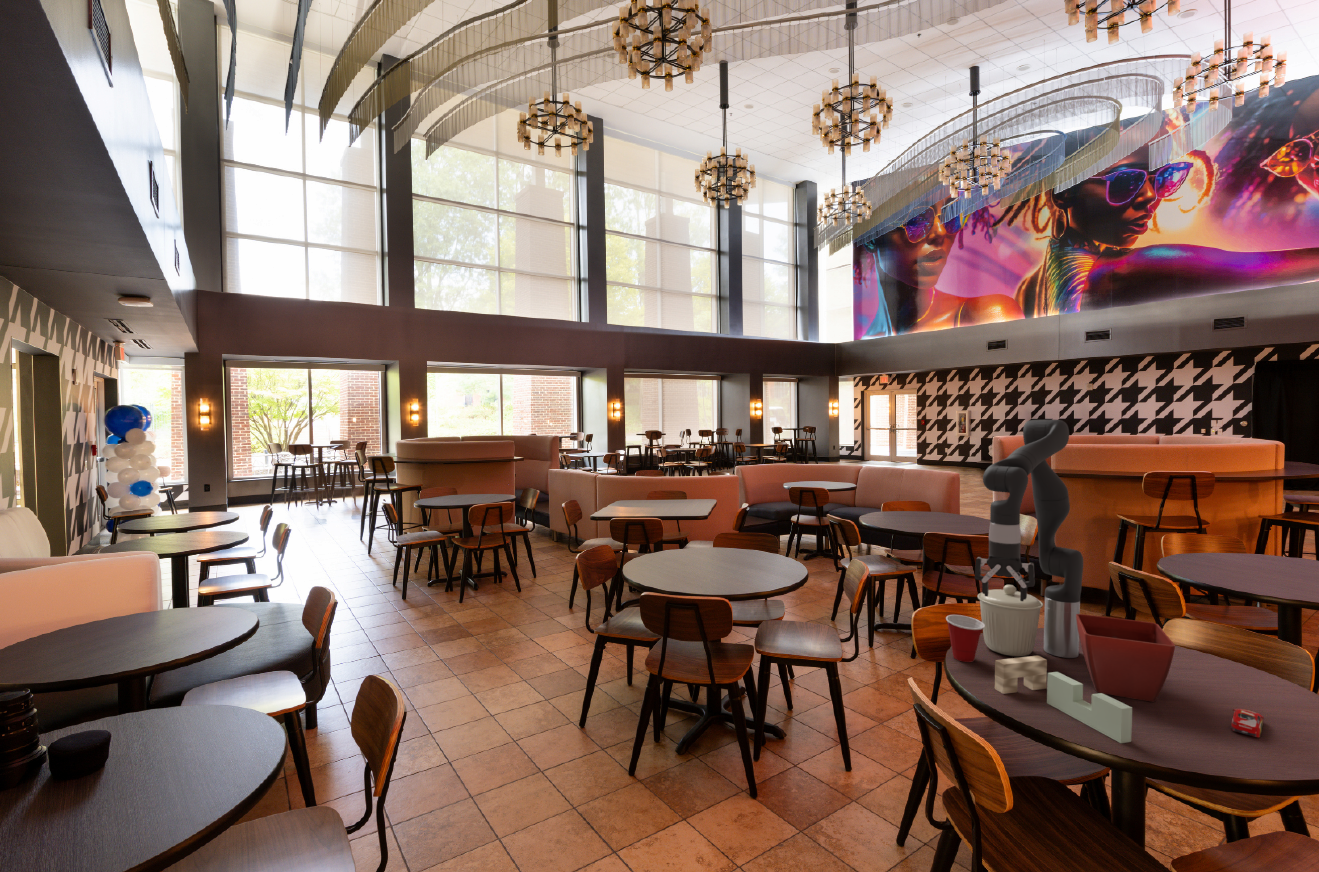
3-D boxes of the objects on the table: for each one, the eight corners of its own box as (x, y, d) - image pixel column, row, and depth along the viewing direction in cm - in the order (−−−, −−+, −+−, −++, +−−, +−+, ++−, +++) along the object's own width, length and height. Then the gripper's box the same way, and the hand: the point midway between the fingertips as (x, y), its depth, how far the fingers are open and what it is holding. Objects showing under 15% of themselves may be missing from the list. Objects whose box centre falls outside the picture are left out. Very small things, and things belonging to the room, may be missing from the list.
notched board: (1046, 703, 160) (1047, 672, 160) (1056, 701, 161) (1057, 671, 160) (1120, 743, 140) (1121, 709, 140) (1131, 741, 141) (1132, 707, 141)
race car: (1234, 715, 154) (1235, 699, 154) (1265, 723, 150) (1265, 707, 150) (1227, 732, 146) (1228, 716, 146) (1259, 742, 142) (1260, 725, 141)
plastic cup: (978, 669, 181) (979, 629, 181) (940, 659, 189) (940, 620, 188) (988, 658, 189) (989, 619, 189) (951, 649, 196) (952, 612, 196)
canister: (1030, 667, 183) (1032, 597, 182) (967, 649, 196) (968, 584, 195) (1049, 651, 195) (1051, 585, 194) (988, 636, 208) (990, 574, 207)
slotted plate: (1037, 683, 171) (1037, 655, 171) (1046, 688, 168) (1046, 659, 168) (994, 688, 168) (995, 660, 168) (1003, 693, 165) (1003, 664, 165)
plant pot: (1083, 695, 164) (1085, 633, 164) (1073, 669, 181) (1075, 612, 181) (1174, 711, 155) (1176, 646, 155) (1155, 682, 172) (1157, 623, 172)
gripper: (1036, 539, 166) (1035, 598, 167) (977, 534, 174) (976, 590, 175) (1034, 545, 160) (1033, 606, 161) (973, 539, 168) (972, 597, 169)
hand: (1003, 598), depth 168 cm, fingers open, 8 cm apart
